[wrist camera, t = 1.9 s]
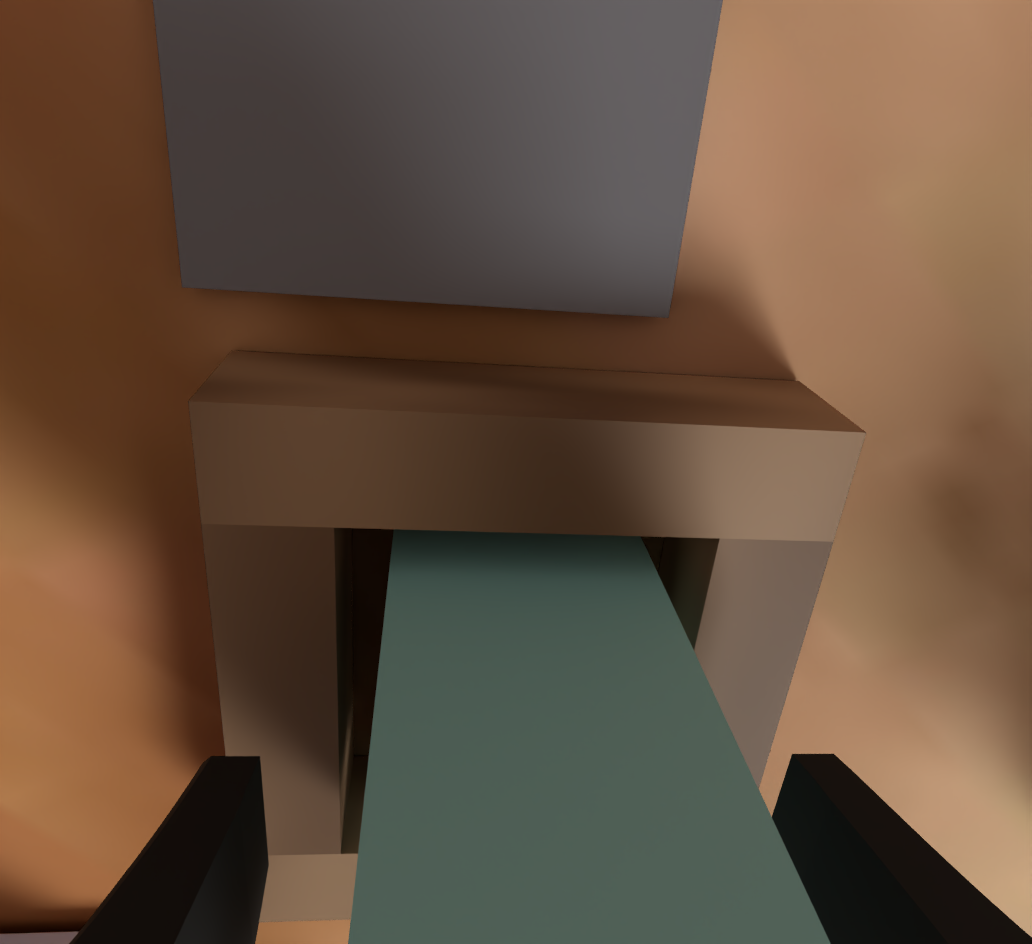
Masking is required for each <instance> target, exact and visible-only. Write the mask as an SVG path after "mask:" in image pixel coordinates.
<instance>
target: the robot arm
mask: <svg viewBox="0 0 1032 944" xmlns="http://www.w3.org/2000/svg"><path fill="white" fill-rule="evenodd" d="M772 819H773V821H774V823H775V826H776V828H777V830H778V832H779V834H780V836H781V838H782V841H783V843H784V845H785V847H786V849H787V851H788V853H789V856H790V858H791V860H792V862H793V864H794V866H795V868H796V871H797V873H798V875H799V877H800V879H801V881H802V883H803V886H804V888H805V890H806V892H807V894H808V896H809V898H810V901H811V903H812V905H813V907H814V909H815V911H816V913H817V916H818V918H819V920H820V922H821V924H822V926H823V928H824V931H825V933H826V935H827V937H828V939H829V941H830V943H831V944H1032V937H1031V936H1029V935H1028V934H1027V933H1026V932H1025V931H1024V930H1022V929H1021V928H1020V927H1019V926H1018V925H1017V924H1016V923H1014V922H1013V921H1012V920H1011V919H1010V918H1009V917H1008V916H1007V915H1005V914H1004V913H1003V912H1002V911H1001V910H1000V909H999V908H998V907H996V906H995V905H994V904H993V903H992V902H991V901H990V900H989V899H987V898H986V897H985V896H984V895H983V894H982V893H981V892H980V891H979V890H978V889H976V888H975V887H974V886H973V885H972V884H971V883H970V882H969V881H968V880H967V879H966V878H965V877H963V876H962V875H961V874H960V873H959V872H958V871H957V870H956V869H955V868H954V867H953V866H952V865H951V864H949V863H948V862H947V861H946V860H945V859H944V858H943V857H942V856H941V855H940V854H939V853H938V852H937V851H936V850H935V849H933V848H932V847H931V846H930V845H929V844H928V843H927V842H926V841H925V840H924V839H923V838H922V837H921V836H920V835H919V834H918V833H917V832H916V831H915V830H914V829H912V828H911V827H910V826H909V825H908V824H907V823H906V822H905V821H904V820H903V819H902V818H901V817H900V816H899V815H898V814H897V813H896V812H895V811H894V810H893V809H892V808H891V807H889V806H888V805H887V804H886V803H885V802H884V801H883V800H882V799H881V798H880V797H879V796H878V795H877V794H876V793H875V792H874V791H873V790H872V789H871V788H870V787H869V786H868V785H867V784H865V783H864V782H863V781H862V780H861V779H860V778H859V777H858V776H857V775H856V774H855V773H854V772H853V771H852V770H851V769H850V768H849V767H847V766H846V765H845V764H844V763H843V762H842V761H841V760H840V759H839V758H838V757H837V756H835V755H834V754H792V756H791V759H790V762H789V766H788V769H787V772H786V775H785V778H784V781H783V784H782V787H781V790H780V793H779V796H778V800H777V803H776V806H775V809H774V812H773V815H772ZM268 867H269V860H268V847H267V835H266V823H265V810H264V798H263V786H262V773H261V761H260V756H211V757H210V758H208V759H207V760H206V761H205V762H203V763H202V765H201V766H200V768H199V770H198V771H197V773H196V774H195V776H194V777H193V779H192V780H191V782H190V783H189V785H188V786H187V788H186V789H185V791H184V792H183V794H182V795H181V797H180V798H179V799H178V801H177V802H176V804H175V805H174V807H173V808H172V810H171V811H170V812H169V814H168V815H167V817H166V818H165V820H164V821H163V822H162V824H161V825H160V827H159V828H158V829H157V831H156V832H155V833H154V835H153V836H152V838H151V839H150V840H149V842H148V843H147V844H146V846H145V847H144V848H143V850H142V851H141V853H140V854H139V855H138V857H137V858H136V859H135V861H134V862H133V863H132V865H131V866H130V867H129V868H128V870H127V871H126V872H125V874H124V875H123V876H122V878H121V879H120V880H119V881H118V883H117V884H116V885H115V887H114V888H113V889H112V890H111V892H110V893H109V894H108V896H107V897H106V898H105V900H104V901H103V902H102V903H101V905H100V906H99V907H98V909H97V910H96V911H95V913H94V914H93V915H92V916H91V918H90V919H89V920H88V921H87V923H86V924H85V925H84V926H83V928H82V929H81V930H80V931H73V932H41V933H8V934H0V944H255V941H256V935H257V930H258V924H259V919H260V913H261V908H262V902H263V896H264V890H265V884H266V878H267V873H268Z"/></svg>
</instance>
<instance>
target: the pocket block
mask: <svg viewBox="0 0 1032 944" xmlns="http://www.w3.org/2000/svg"><path fill="white" fill-rule="evenodd" d="M188 404H189V413H190V423H191V432H192V442H193V451H194V461H195V470H196V480H197V489H198V499H199V508H200V518H201V527H202V537H203V546H204V555H205V565H206V574H207V584H208V593H209V603H210V612H211V622H212V631H213V641H214V650H215V660H216V669H217V679H218V688H219V698H220V707H221V717H222V726H223V736H224V745H225V755H226V756H260V761H261V773H262V786H263V798H264V810H265V823H266V835H267V847H268V860H269V867H268V873H267V878H266V884H265V890H264V896H263V902H262V908H261V913H260V919H259V922H284V921H317V920H349V919H351V914H352V905H353V896H354V886H355V877H356V868H357V859H358V850H359V841H360V832H361V823H362V814H363V805H364V796H365V786H366V777H367V768H368V759H369V757H354V730H353V622H352V528H366V529H401V530H437V531H472V532H507V533H543V534H578V535H613V536H649V537H665V540H664V545H663V551H662V556H661V561H660V566H659V571H658V575H659V577H660V579H661V581H662V583H663V585H664V588H665V590H666V592H667V594H668V596H669V598H670V600H671V603H672V605H673V607H674V609H675V611H676V613H677V615H678V618H679V620H680V622H681V624H682V626H683V628H684V630H685V633H686V635H687V637H688V639H689V641H690V643H691V646H692V648H693V650H694V652H695V654H696V656H697V658H698V661H699V663H700V665H701V667H702V669H703V671H704V673H705V676H706V678H707V680H708V682H709V684H710V686H711V688H712V691H713V693H714V695H715V697H716V699H717V701H718V703H719V706H720V708H721V710H722V712H723V714H724V716H725V718H726V721H727V723H728V725H729V727H730V729H731V731H732V733H733V736H734V738H735V740H736V742H737V744H738V746H739V748H740V751H741V753H742V755H743V757H744V759H745V761H746V763H747V766H748V768H749V770H750V772H751V774H752V776H753V778H754V781H755V783H756V785H757V787H758V789H759V786H760V782H761V779H762V776H763V772H764V769H765V766H766V763H767V759H768V756H769V753H770V749H771V746H772V743H773V739H774V736H775V733H776V729H777V726H778V723H779V720H780V716H781V713H782V710H783V706H784V703H785V700H786V696H787V693H788V690H789V686H790V683H791V680H792V677H793V673H794V670H795V667H796V663H797V660H798V657H799V653H800V650H801V647H802V644H803V640H804V637H805V634H806V630H807V627H808V624H809V620H810V617H811V614H812V610H813V607H814V604H815V601H816V597H817V594H818V591H819V587H820V584H821V581H822V577H823V574H824V571H825V568H826V564H827V561H828V558H829V554H830V551H831V548H832V544H833V541H834V538H835V534H836V531H837V528H838V525H839V521H840V518H841V515H842V511H843V508H844V505H845V501H846V498H847V495H848V492H849V488H850V485H851V482H852V478H853V475H854V472H855V468H856V465H857V462H858V458H859V455H860V452H861V449H862V445H863V442H864V439H865V435H866V432H865V431H864V430H862V429H861V428H860V427H858V426H857V425H856V424H854V423H853V422H852V421H850V420H849V419H848V418H847V417H845V416H844V415H843V414H841V413H840V412H839V411H837V410H836V409H835V408H833V407H832V406H831V405H830V404H828V403H827V402H826V401H824V400H823V399H822V398H820V397H819V396H818V395H816V394H815V393H814V392H813V391H811V390H810V389H809V388H807V387H806V386H805V385H803V384H802V383H801V382H799V381H787V380H768V379H750V378H731V377H713V376H694V375H676V374H657V373H639V372H620V371H602V370H583V369H565V368H546V367H528V366H509V365H491V364H472V363H454V362H435V361H417V360H398V359H380V358H361V357H342V356H324V355H305V354H287V353H268V352H250V351H231V352H230V353H229V354H228V355H227V357H226V358H225V359H224V360H223V361H222V362H221V364H220V365H219V366H218V367H217V368H216V369H215V371H214V372H213V373H212V374H211V375H210V376H209V378H208V379H207V380H206V381H205V382H204V383H203V385H202V386H201V387H200V388H199V389H198V390H197V392H196V393H195V394H194V395H193V396H192V397H191V399H190V400H189V401H188Z"/></svg>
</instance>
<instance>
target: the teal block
mask: <svg viewBox="0 0 1032 944" xmlns="http://www.w3.org/2000/svg"><path fill="white" fill-rule="evenodd" d="M348 944H831V943H830V941H829V939H828V937H827V935H826V933H825V931H824V928H823V926H822V924H821V922H820V920H819V918H818V916H817V913H816V911H815V909H814V907H813V905H812V903H811V901H810V898H809V896H808V894H807V892H806V890H805V888H804V886H803V883H802V881H801V879H800V877H799V875H798V873H797V871H796V868H795V866H794V864H793V862H792V860H791V858H790V856H789V853H788V851H787V849H786V847H785V845H784V843H783V841H782V838H781V836H780V834H779V832H778V830H777V828H776V826H775V823H774V821H773V819H772V817H771V815H770V813H769V811H768V808H767V806H766V804H765V802H764V800H763V798H762V796H761V793H760V791H759V789H758V787H757V785H756V783H755V781H754V778H753V776H752V774H751V772H750V770H749V768H748V766H747V763H746V761H745V759H744V757H743V755H742V753H741V751H740V748H739V746H738V744H737V742H736V740H735V738H734V736H733V733H732V731H731V729H730V727H729V725H728V723H727V721H726V718H725V716H724V714H723V712H722V710H721V708H720V706H719V703H718V701H717V699H716V697H715V695H714V693H713V691H712V688H711V686H710V684H709V682H708V680H707V678H706V676H705V673H704V671H703V669H702V667H701V665H700V663H699V661H698V658H697V656H696V654H695V652H694V650H693V648H692V646H691V643H690V641H689V639H688V637H687V635H686V633H685V630H684V628H683V626H682V624H681V622H680V620H679V618H678V615H677V613H676V611H675V609H674V607H673V605H672V603H671V600H670V598H669V596H668V594H667V592H666V590H665V588H664V585H663V583H662V581H661V579H660V577H659V575H658V573H657V570H656V568H655V566H654V564H653V562H652V560H651V558H650V555H649V553H648V551H647V549H646V547H645V545H644V543H643V540H642V538H641V536H613V535H578V534H543V533H507V532H472V531H437V530H401V529H394V532H393V541H392V550H391V559H390V568H389V577H388V587H387V596H386V605H385V614H384V623H383V632H382V641H381V650H380V659H379V668H378V677H377V687H376V696H375V705H374V714H373V723H372V732H371V741H370V750H369V759H368V768H367V777H366V786H365V796H364V805H363V814H362V823H361V832H360V841H359V850H358V859H357V868H356V877H355V886H354V896H353V905H352V914H351V923H350V932H349V941H348Z"/></svg>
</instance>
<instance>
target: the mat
mask: <svg viewBox="0 0 1032 944" xmlns="http://www.w3.org/2000/svg"><path fill="white" fill-rule="evenodd" d="M722 2H723V0H153V6H154V16H155V26H156V36H157V46H158V55H159V65H160V75H161V85H162V95H163V104H164V114H165V124H166V134H167V143H168V153H169V163H170V173H171V183H172V192H173V202H174V212H175V222H176V232H177V241H178V251H179V261H180V271H181V280H182V287H186V288H202V289H218V290H233V291H249V292H265V293H281V294H297V295H313V296H329V297H345V298H361V299H376V300H392V301H408V302H424V303H440V304H456V305H472V306H488V307H504V308H519V309H535V310H551V311H567V312H583V313H599V314H615V315H631V316H647V317H662V318H669V312H670V306H671V300H672V294H673V288H674V282H675V277H676V271H677V265H678V259H679V253H680V247H681V242H682V236H683V230H684V224H685V218H686V212H687V206H688V201H689V195H690V189H691V183H692V177H693V171H694V165H695V160H696V154H697V148H698V142H699V136H700V130H701V125H702V119H703V113H704V107H705V101H706V95H707V89H708V84H709V78H710V72H711V66H712V60H713V54H714V49H715V43H716V37H717V31H718V25H719V19H720V13H721V8H722Z"/></svg>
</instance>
